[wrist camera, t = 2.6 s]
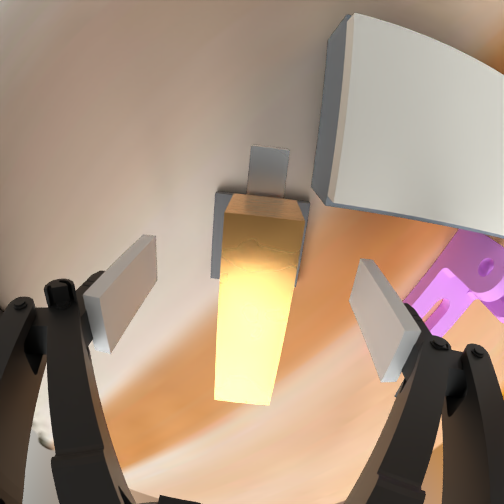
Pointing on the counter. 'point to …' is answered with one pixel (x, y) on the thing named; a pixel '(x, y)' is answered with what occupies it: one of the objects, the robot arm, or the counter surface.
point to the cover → (418, 129)
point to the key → (256, 279)
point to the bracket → (461, 281)
